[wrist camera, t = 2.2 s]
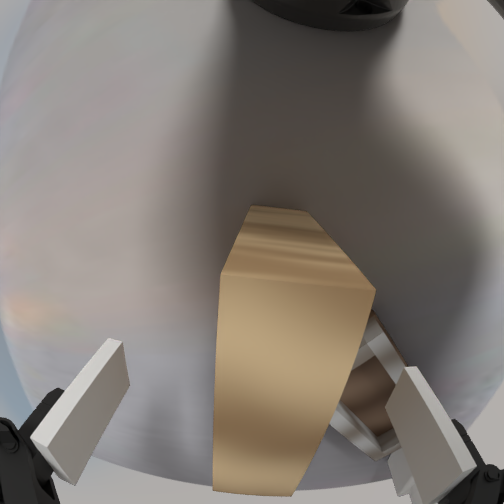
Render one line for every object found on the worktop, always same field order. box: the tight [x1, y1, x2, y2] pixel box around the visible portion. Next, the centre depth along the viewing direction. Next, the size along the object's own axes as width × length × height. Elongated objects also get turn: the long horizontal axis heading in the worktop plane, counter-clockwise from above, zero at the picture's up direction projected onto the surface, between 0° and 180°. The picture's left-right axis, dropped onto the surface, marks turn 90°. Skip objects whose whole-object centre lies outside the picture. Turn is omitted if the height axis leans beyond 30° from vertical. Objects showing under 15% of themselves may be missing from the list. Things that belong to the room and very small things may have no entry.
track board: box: [329, 309, 408, 461], centre depth 23 cm, size 18×9×4 cm, turn 39°
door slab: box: [213, 205, 376, 496], centre depth 15 cm, size 12×4×14 cm, turn 175°
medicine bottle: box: [387, 448, 448, 504], centre depth 22 cm, size 7×7×12 cm
